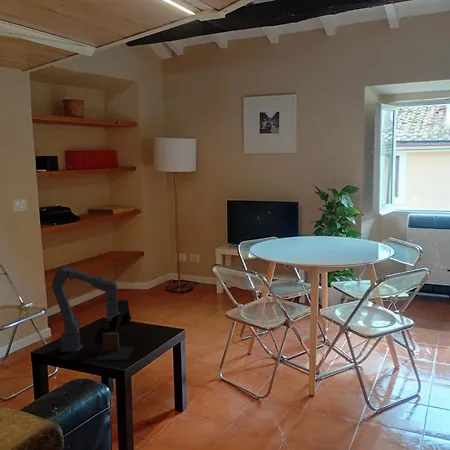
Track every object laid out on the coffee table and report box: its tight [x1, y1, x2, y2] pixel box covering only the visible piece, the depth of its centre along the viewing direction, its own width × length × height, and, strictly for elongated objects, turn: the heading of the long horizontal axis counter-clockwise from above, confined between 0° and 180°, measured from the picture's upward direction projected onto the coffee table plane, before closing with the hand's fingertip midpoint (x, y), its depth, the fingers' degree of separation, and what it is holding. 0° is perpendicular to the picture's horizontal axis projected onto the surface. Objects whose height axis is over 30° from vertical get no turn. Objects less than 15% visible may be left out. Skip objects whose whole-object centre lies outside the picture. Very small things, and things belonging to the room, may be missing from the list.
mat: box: [95, 346, 135, 362], centre depth 245 cm, size 16×15×1 cm
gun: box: [103, 299, 132, 333], centre depth 279 cm, size 7×29×15 cm, turn 174°
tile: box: [102, 332, 120, 351], centre depth 249 cm, size 8×2×9 cm, turn 88°
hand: (113, 329), depth 254 cm, fingers closed
